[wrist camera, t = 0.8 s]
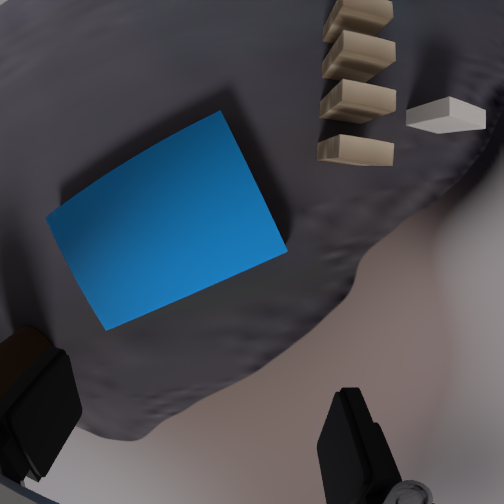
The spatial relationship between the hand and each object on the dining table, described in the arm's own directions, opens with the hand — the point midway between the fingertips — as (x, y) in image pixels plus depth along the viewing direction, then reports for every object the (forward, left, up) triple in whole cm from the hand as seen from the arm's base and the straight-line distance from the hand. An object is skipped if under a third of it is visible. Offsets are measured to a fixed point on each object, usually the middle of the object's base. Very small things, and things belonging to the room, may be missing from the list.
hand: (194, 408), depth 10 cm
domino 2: (-20, +11, -28) cm, 36 cm away
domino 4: (-10, +11, -28) cm, 32 cm away
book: (0, -9, -29) cm, 30 cm away
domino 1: (-25, +11, -28) cm, 39 cm away
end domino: (-16, +22, -28) cm, 39 cm away
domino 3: (-15, +11, -28) cm, 34 cm away
